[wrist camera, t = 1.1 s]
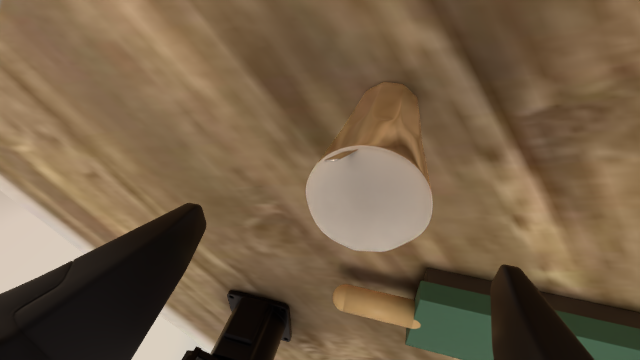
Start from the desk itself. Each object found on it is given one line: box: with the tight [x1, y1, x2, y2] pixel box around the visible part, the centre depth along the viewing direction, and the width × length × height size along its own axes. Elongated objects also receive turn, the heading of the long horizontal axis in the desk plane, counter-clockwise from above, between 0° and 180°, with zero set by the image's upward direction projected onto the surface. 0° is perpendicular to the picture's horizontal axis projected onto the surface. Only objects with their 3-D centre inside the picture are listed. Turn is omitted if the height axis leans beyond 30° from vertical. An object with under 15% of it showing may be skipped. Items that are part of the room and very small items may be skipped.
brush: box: [333, 268, 640, 360], centre depth 24 cm, size 22×6×3 cm, turn 90°
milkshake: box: [306, 82, 433, 252], centre depth 14 cm, size 4×5×10 cm
